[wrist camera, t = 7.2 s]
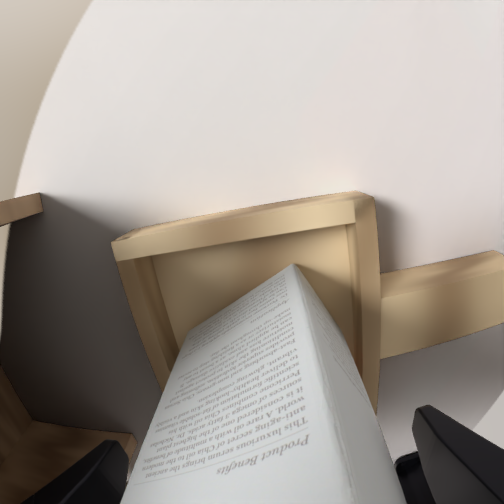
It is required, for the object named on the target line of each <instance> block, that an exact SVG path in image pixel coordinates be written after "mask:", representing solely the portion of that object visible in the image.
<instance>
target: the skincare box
mask: <svg viewBox="0 0 504 504" xmlns="http://www.w3.org/2000/svg"><path fill="white" fill-rule="evenodd" d="M120 504H407V503H406V500H405V497H404V493H403V490H402V487H401V485H400V482H399V479H398V476H397V473H396V470H395V467H394V464H393V462H392V459H391V456H390V453H389V451H388V448H387V445H386V442H385V440H384V437H383V434H382V431H381V429H380V426H379V423H378V421H377V418H376V415H375V413H374V410H373V408H372V405H371V402H370V400H369V397H368V394H367V392H366V389H365V387H364V384H363V382H362V379H361V377H360V374H359V372H358V369H357V367H356V364H355V362H354V360H353V357H352V355H351V352H350V350H349V347H348V345H347V342H346V340H345V338H344V335H343V333H342V331H341V329H340V328H339V326H338V325H337V323H336V322H335V320H334V319H333V317H332V316H331V315H330V313H329V312H328V310H327V309H326V307H325V306H324V304H323V303H322V301H321V300H320V298H319V297H318V295H317V294H316V292H315V291H314V289H313V288H312V286H311V285H310V284H309V282H308V281H307V279H306V278H305V276H304V275H303V274H302V272H301V271H300V269H299V268H298V267H297V266H296V265H295V264H290V265H289V266H288V267H286V268H285V269H283V270H282V271H280V272H279V273H277V274H276V275H274V276H273V277H271V278H270V279H268V280H267V281H265V282H264V283H262V284H261V285H259V286H258V287H256V288H255V289H253V290H252V291H250V292H249V293H247V294H245V295H244V296H242V297H241V298H239V299H238V300H236V301H235V302H233V303H232V304H230V305H229V306H227V307H226V308H224V309H222V310H221V311H219V312H218V313H216V314H215V315H213V316H212V317H210V318H209V319H207V320H206V321H204V322H202V323H201V324H199V325H198V326H196V327H194V328H193V329H191V330H190V331H188V333H187V336H186V338H185V340H184V343H183V345H182V347H181V350H180V352H179V355H178V357H177V359H176V362H175V364H174V367H173V369H172V371H171V374H170V376H169V379H168V381H167V384H166V386H165V389H164V391H163V394H162V396H161V399H160V402H159V404H158V407H157V409H156V412H155V414H154V417H153V419H152V422H151V424H150V426H149V429H148V432H147V434H146V437H145V439H144V442H143V444H142V447H141V449H140V452H139V455H138V458H137V460H136V463H135V465H134V468H133V471H132V473H131V476H130V479H129V481H128V484H127V487H126V489H125V492H124V495H123V497H122V500H121V502H120Z"/></svg>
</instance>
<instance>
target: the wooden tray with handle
mask: <svg viewBox="0 0 504 504" xmlns="http://www.w3.org/2000/svg"><path fill="white" fill-rule="evenodd" d="M111 246H112V250H113V253H114V257H115V260H116V264H117V267H118V271H119V274H120V278H121V281H122V284H123V287H124V291H125V294H126V297H127V300H128V303H129V306H130V309H131V312H132V315H133V318H134V321H135V324H136V327H137V330H138V332H139V335H140V338H141V341H142V343H143V346H144V349H145V351H146V354H147V356H148V359H149V362H150V364H151V367H152V369H153V372H154V374H155V376H156V379H157V381H158V384H159V386H160V388H161V391H162V393H163V391H164V389H165V386H166V384H167V381H168V379H169V376H170V374H171V371H172V369H173V367H174V364H175V362H176V359H177V357H178V355H179V352H180V350H181V347H182V345H183V343H184V340H185V338H186V336H187V333H188V331H190V330H191V329H193V328H194V327H196V326H198V325H199V324H201V323H202V322H204V321H206V320H207V319H209V318H210V317H212V316H213V315H215V314H216V313H218V312H219V311H221V310H222V309H224V308H226V307H227V306H229V305H230V304H232V303H233V302H235V301H236V300H238V299H239V298H241V297H242V296H244V295H245V294H247V293H249V292H250V291H252V290H253V289H255V288H256V287H258V286H259V285H261V284H262V283H264V282H265V281H267V280H268V279H270V278H271V277H273V276H274V275H276V274H277V273H279V272H280V271H282V270H283V269H285V268H286V267H288V266H289V265H290V264H295V265H296V266H297V267H298V268H299V269H300V271H301V272H302V274H303V275H304V276H305V278H306V279H307V281H308V282H309V284H310V285H311V286H312V288H313V289H314V291H315V292H316V294H317V295H318V297H319V298H320V300H321V301H322V303H323V304H324V306H325V307H326V309H327V310H328V312H329V313H330V315H331V316H332V317H333V319H334V320H335V322H336V323H337V325H338V326H339V328H340V329H341V331H342V333H343V335H344V338H345V340H346V342H347V345H348V347H349V350H350V352H351V355H352V357H353V360H354V362H355V364H356V367H357V369H358V372H359V374H360V377H361V379H362V382H363V384H364V387H365V389H366V392H367V394H368V397H369V400H370V402H371V405H372V408H373V410H374V413H375V415H376V413H377V402H378V388H379V371H380V359H383V358H387V357H392V356H396V355H400V354H404V353H408V352H412V351H416V350H419V349H423V348H427V347H430V346H434V345H437V344H441V343H444V342H448V341H451V340H454V339H457V338H461V337H464V336H467V335H470V334H473V333H476V332H479V331H482V330H485V329H488V328H490V327H493V326H496V325H499V324H501V323H504V255H502V254H500V253H498V252H496V251H494V250H493V251H488V252H484V253H479V254H475V255H470V256H466V257H461V258H456V259H452V260H447V261H442V262H437V263H433V264H428V265H423V266H418V267H412V268H407V269H402V270H397V271H392V272H387V273H382V274H380V265H379V247H378V233H377V221H376V210H375V200H374V197H372V196H369V195H366V194H363V193H361V192H358V191H349V192H342V193H335V194H328V195H321V196H315V197H308V198H301V199H295V200H289V201H283V202H276V203H270V204H264V205H258V206H253V207H247V208H241V209H235V210H230V211H224V212H219V213H213V214H208V215H203V216H197V217H192V218H187V219H182V220H177V221H172V222H167V223H162V224H157V225H152V226H147V227H142V228H138V229H133V230H131V231H130V232H128V233H126V234H124V235H122V236H121V237H119V238H117V239H115V240H114V241H112V242H111Z"/></svg>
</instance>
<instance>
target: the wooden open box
mask: <svg viewBox="0 0 504 504" xmlns="http://www.w3.org/2000/svg"><path fill="white" fill-rule="evenodd" d="M40 212H43V207H42V202H41V197H40V193H35V194H31V195H26V196H22V197H18V198H13V199H9V200H5V201H1V202H0V227H1V226H4V225H6V224H9V223H12V222H14V221H17V220H20V219H23V218H25V217H28V216H31V215H34V214H37V213H40ZM106 439H111V440H117V441H118V442H119V443H120V444H121V446H122V447H123V449H124V450H125V452H126V453H127V455H128V457H129V463H130V460H131V458H132V455H133V453H134V450H135V448H136V445H137V441H136V439H135V438H134V436H133V434H132V433H119V432H108V431H98V430H89V429H81V428H74V427H68V426H61V425H55V424H50V423H44V422H39V421H34V420H33V419H32V418H31V416H30V415H29V413H28V411H27V410H26V408H25V407H24V405H23V403H22V402H21V400H20V399H19V397H18V395H17V394H16V392H15V390H14V388H13V387H12V385H11V383H10V381H9V379H8V378H7V376H6V374H5V372H4V370H3V368H2V366H1V364H0V504H20V503H21V502H23V501H24V500H26V499H27V498H28V497H30V496H31V495H34V493H35V492H37V491H38V490H40V489H41V488H42V487H44V486H45V485H46V484H48V483H49V482H51V481H52V480H53V479H55V478H56V477H57V476H59V475H60V474H61V473H63V472H64V471H65V470H67V469H68V468H69V467H70V466H72V465H73V464H74V463H76V462H77V461H78V460H80V459H81V458H82V457H83V456H85V455H86V454H87V453H89V452H90V451H91V450H92V449H94V448H95V447H96V446H98V445H99V444H100V443H101V442H103V441H104V440H106Z"/></svg>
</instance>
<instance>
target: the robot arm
mask: <svg viewBox="0 0 504 504" xmlns="http://www.w3.org/2000/svg"><path fill="white" fill-rule="evenodd" d="M412 432H413V436H414V439H415V443H416V446H417V450H418V453H415V454H412V455H409V456H406V457H403V458H400V459H398V460H397V461H396V462H395V464H394V467H395V470H396V473H397V476H398V479H399V482H400V485H401V487H402V490H403V493H404V497H405V500H406V503H407V504H504V449H502V448H500V447H498V446H497V445H495V444H493V443H491V442H490V441H488V440H486V439H485V438H483V437H481V436H480V435H478V434H477V433H475V432H473V431H472V430H470V429H468V428H467V427H465V426H463V425H462V424H460V423H458V422H457V421H455V420H454V419H452V418H450V417H449V416H447V415H445V414H444V413H442V412H441V411H439V410H437V409H436V408H434V407H433V406H431V405H425V406H422V407H419V408H417V409H416V411H415V415H414V420H413V425H412ZM128 466H129V457H128V455H127V453H126V452H125V450H124V449H123V447H122V446H121V444H120V443H119V442H118V441H117V440H111V439H106V440H104V441H103V442H101V443H100V444H99V445H98V446H96V447H95V448H94V449H92V450H91V451H90V452H89V453H87V454H86V455H85V456H83V457H82V458H81V459H80V460H78V461H77V462H76V463H74V464H73V465H72V466H70V467H69V468H68V469H67V470H65V471H64V472H63V473H61V474H60V475H59V476H57V477H56V478H55V479H53V480H52V481H51V482H49V483H48V484H46V485H45V486H44V487H42V488H41V489H40V490H38V491H37V492H35V493H34V495H31V496H30V497H28V498H27V499H26V500H24V501H23V502H21V503H20V504H120V502H121V500H122V497H123V495H124V492H125V489H126V481H127V473H128Z"/></svg>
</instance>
